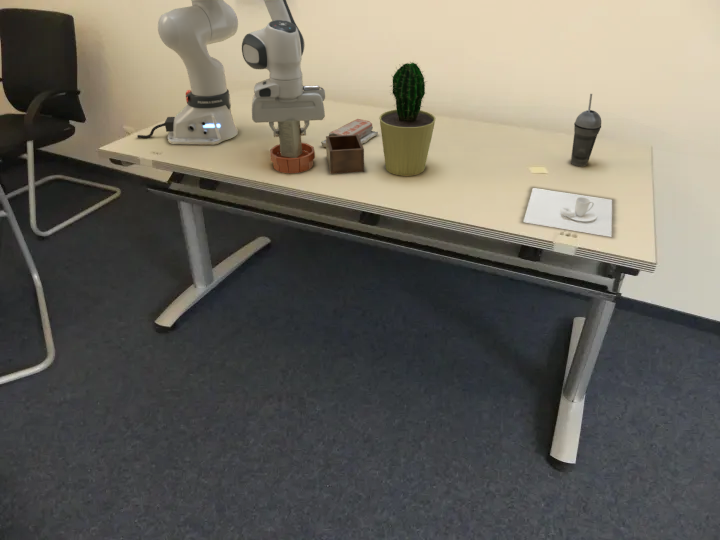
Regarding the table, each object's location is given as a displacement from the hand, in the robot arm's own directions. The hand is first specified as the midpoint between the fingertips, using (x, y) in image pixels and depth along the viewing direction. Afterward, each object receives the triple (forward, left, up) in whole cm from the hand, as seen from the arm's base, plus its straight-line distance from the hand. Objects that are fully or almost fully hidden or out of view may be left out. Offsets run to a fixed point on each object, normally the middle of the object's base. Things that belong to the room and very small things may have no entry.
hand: (289, 135), depth 159 cm
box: (0, 0, -6) cm, 6 cm away
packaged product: (+19, +16, -9) cm, 27 cm away
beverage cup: (+83, -12, -9) cm, 85 cm away
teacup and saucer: (+67, -39, -9) cm, 79 cm away
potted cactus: (+32, -7, -9) cm, 34 cm away
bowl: (0, 0, -9) cm, 9 cm away
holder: (+15, -2, -9) cm, 18 cm away
